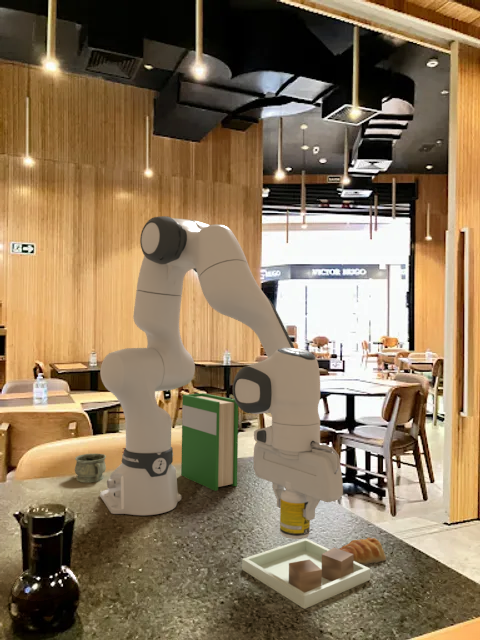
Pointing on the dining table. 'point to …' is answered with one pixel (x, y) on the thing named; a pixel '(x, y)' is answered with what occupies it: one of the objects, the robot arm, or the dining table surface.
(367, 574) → the tray
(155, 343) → the robot arm
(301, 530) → the supplement bottle
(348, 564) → the walnut block
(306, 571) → the walnut block
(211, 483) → the hardback book
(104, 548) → the dining table surface
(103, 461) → the vessel
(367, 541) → the pastry
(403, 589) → the dining table surface
